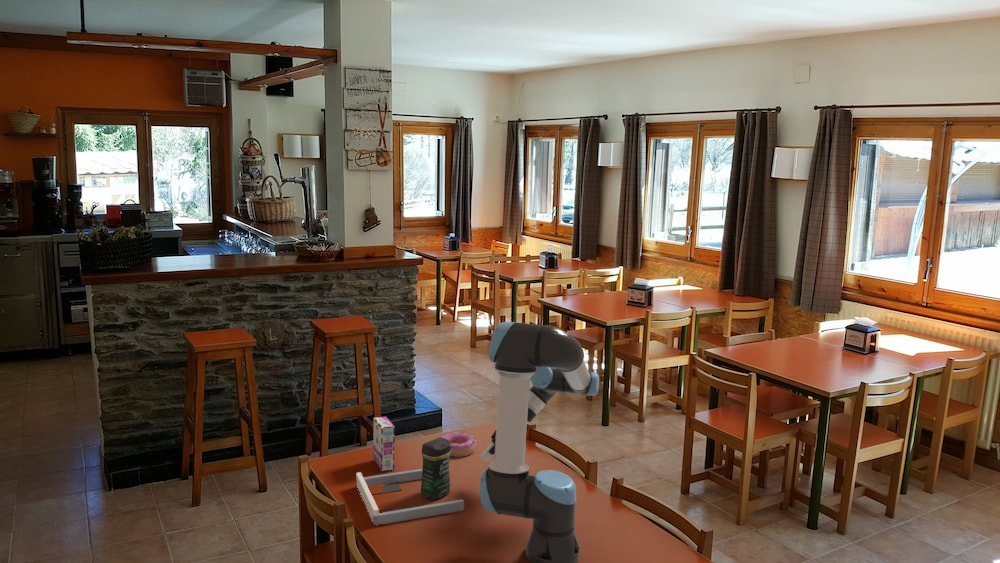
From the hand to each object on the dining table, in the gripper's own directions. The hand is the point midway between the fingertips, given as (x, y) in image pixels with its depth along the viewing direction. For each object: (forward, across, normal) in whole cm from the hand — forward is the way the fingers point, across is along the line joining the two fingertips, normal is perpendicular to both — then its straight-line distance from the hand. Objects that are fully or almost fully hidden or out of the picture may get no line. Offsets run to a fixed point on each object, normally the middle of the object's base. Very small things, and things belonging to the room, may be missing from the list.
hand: (482, 459), depth 244 cm
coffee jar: (+18, -1, +5) cm, 19 cm away
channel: (+25, -1, +12) cm, 27 cm away
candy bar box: (+26, +26, +13) cm, 39 cm away
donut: (+6, +30, -8) cm, 31 cm away
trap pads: (+29, -1, +16) cm, 33 cm away
